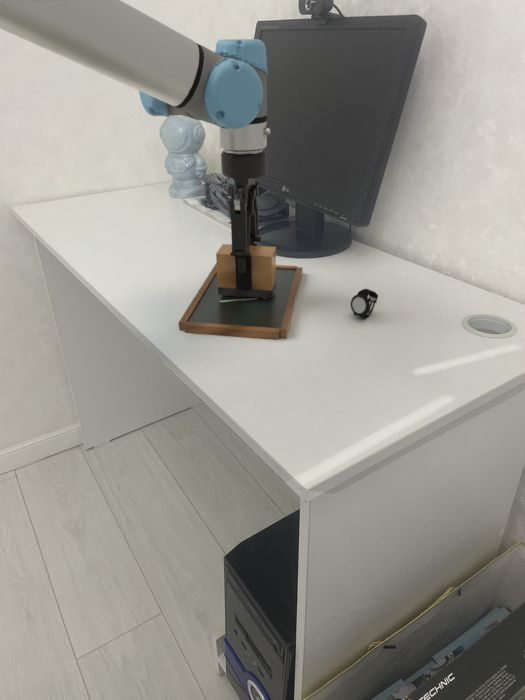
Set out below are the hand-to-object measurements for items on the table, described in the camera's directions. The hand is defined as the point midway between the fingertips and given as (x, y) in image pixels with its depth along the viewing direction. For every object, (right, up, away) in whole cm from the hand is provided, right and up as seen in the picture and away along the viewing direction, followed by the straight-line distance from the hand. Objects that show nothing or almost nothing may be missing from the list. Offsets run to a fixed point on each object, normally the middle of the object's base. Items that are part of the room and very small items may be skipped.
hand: (247, 282), depth 96 cm
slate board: (0, -3, +2) cm, 4 cm away
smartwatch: (+21, -7, -4) cm, 23 cm away
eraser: (0, -2, +1) cm, 2 cm away
